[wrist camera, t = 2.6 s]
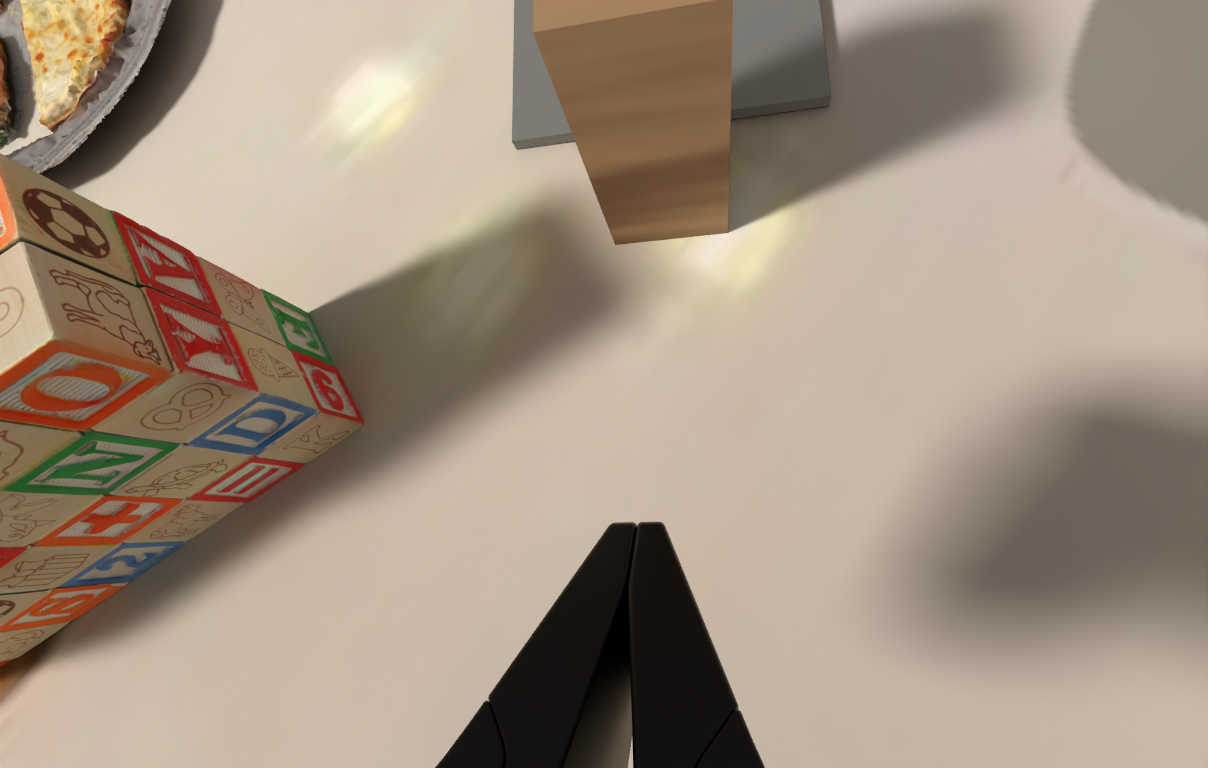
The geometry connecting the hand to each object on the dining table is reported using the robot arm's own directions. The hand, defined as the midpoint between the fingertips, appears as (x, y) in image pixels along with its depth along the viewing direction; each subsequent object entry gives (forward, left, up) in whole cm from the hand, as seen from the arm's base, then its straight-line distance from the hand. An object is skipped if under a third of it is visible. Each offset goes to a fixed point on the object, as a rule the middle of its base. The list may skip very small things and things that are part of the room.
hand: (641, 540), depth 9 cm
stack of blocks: (+13, +20, -13) cm, 27 cm away
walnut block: (+12, -7, -12) cm, 18 cm away
